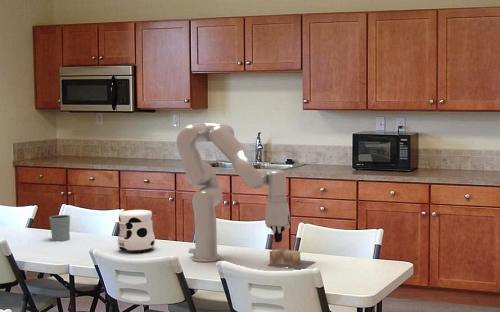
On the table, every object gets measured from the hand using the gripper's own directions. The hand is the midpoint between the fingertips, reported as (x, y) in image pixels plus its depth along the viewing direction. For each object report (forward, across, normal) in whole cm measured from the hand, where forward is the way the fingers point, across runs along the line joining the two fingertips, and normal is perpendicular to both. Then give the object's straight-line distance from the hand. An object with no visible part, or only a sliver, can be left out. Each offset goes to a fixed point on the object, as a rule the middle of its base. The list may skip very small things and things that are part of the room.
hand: (278, 241), depth 323 cm
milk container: (+9, -72, -3) cm, 73 cm away
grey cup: (+9, -124, +2) cm, 124 cm away
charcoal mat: (+9, +6, 0) cm, 11 cm away
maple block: (+6, -3, 0) cm, 7 cm away
